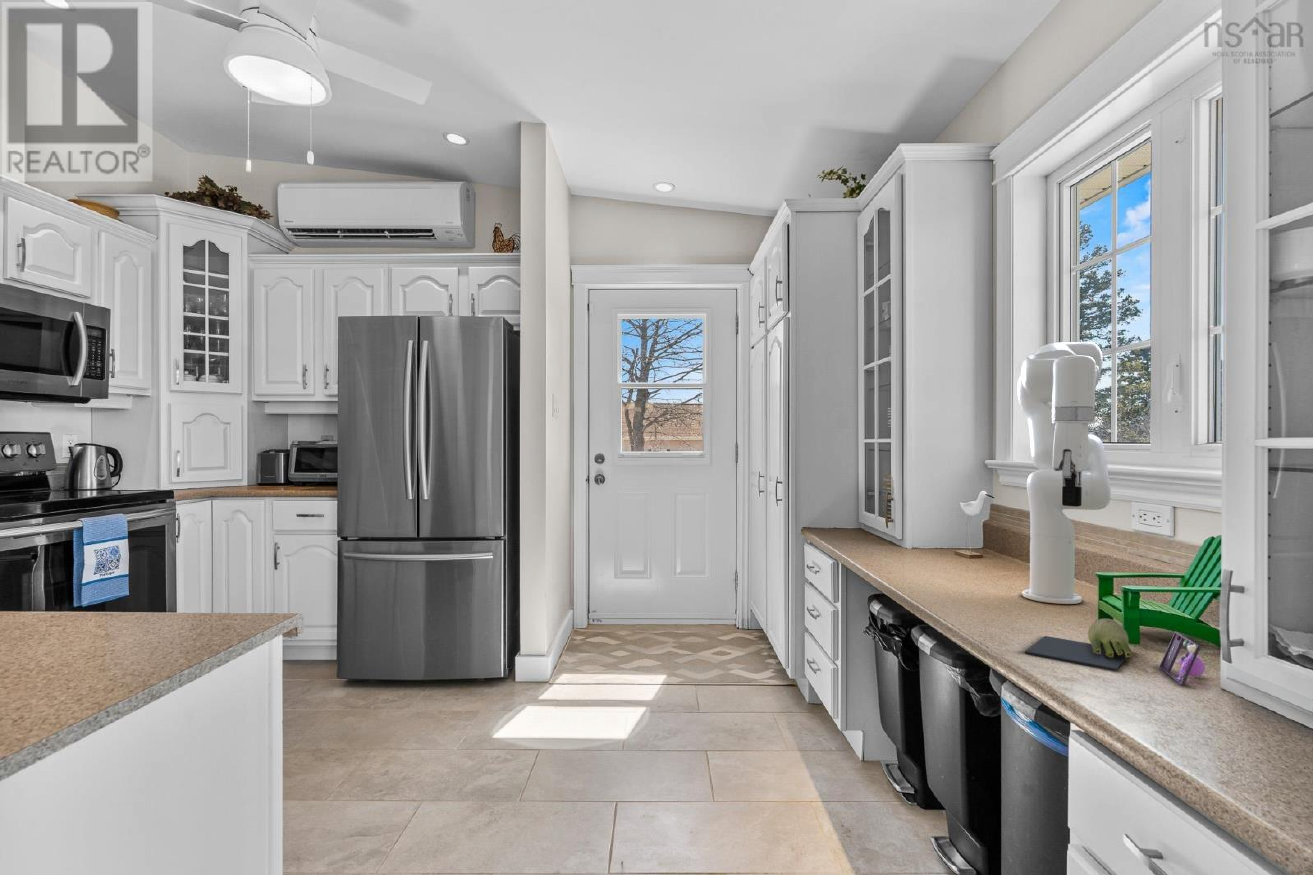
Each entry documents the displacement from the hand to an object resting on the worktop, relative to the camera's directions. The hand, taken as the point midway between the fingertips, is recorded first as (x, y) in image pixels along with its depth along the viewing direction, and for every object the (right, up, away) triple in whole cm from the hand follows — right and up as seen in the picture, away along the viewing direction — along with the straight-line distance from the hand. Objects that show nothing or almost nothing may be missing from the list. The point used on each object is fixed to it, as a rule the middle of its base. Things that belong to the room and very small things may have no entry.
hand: (1071, 505), depth 145 cm
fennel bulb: (-1, -22, -12) cm, 25 cm away
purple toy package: (+1, -25, -31) cm, 40 cm away
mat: (-9, -25, -18) cm, 32 cm away
